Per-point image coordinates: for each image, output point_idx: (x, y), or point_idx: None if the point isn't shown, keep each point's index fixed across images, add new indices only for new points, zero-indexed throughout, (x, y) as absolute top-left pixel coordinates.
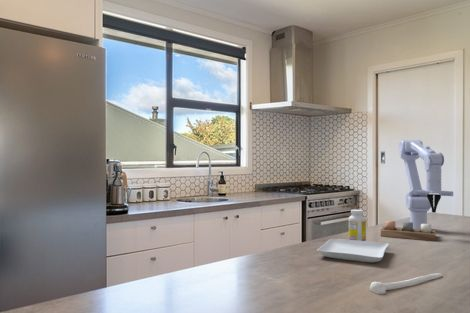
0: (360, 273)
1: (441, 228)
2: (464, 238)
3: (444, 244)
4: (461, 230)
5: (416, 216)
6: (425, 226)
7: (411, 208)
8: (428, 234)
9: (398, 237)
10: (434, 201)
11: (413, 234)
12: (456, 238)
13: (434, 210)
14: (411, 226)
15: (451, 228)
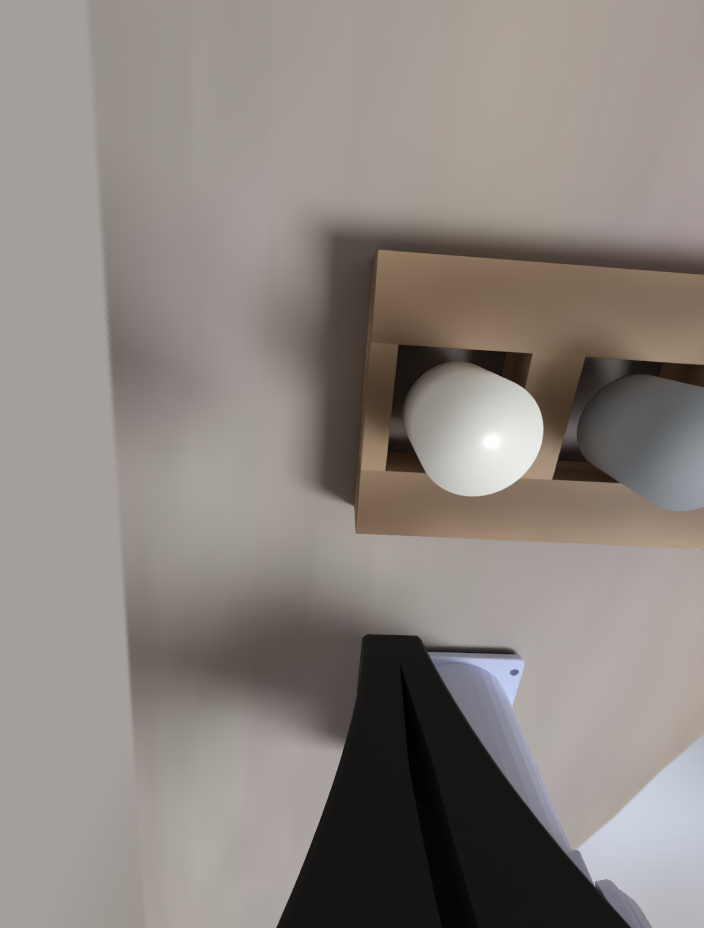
0: None
1: (283, 776)
2: (125, 497)
3: (302, 88)
4: (159, 760)
5: (510, 778)
6: (493, 375)
7: (608, 888)
8: (455, 257)
9: None
10: (433, 895)
11: (605, 268)
12: (187, 471)
13: (388, 658)
14: (640, 400)
15: (221, 795)
